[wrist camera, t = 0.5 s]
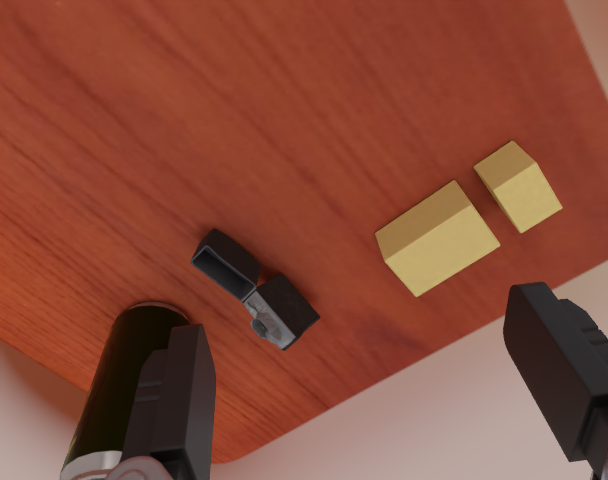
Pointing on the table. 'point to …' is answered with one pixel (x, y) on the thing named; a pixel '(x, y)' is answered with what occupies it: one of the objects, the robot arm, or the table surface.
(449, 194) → the butter
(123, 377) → the guarana soda can
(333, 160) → the table surface
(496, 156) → the butter piece
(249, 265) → the lighter
